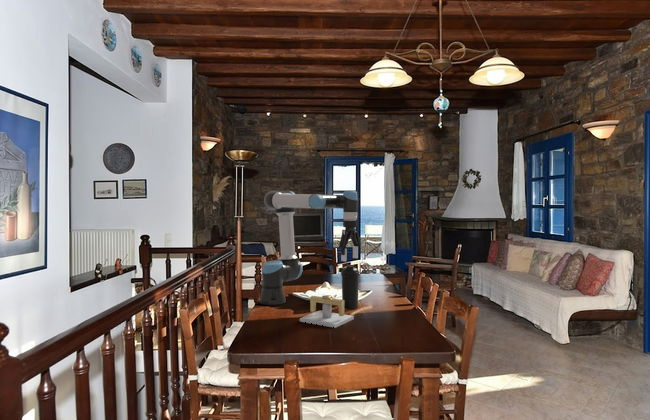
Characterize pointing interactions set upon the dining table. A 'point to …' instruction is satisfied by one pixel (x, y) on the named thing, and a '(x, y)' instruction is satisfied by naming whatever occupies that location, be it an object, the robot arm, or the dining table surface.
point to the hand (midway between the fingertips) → (349, 259)
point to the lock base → (325, 321)
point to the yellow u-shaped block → (326, 300)
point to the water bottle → (350, 286)
